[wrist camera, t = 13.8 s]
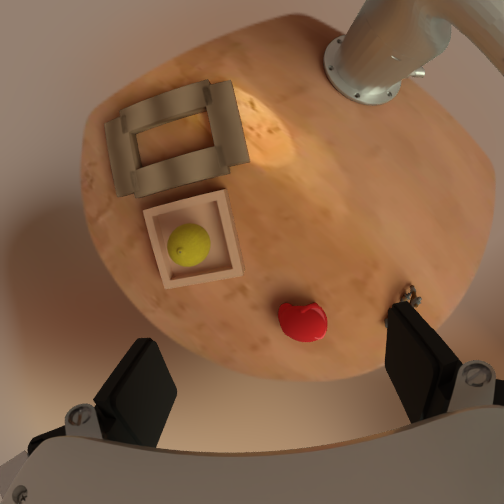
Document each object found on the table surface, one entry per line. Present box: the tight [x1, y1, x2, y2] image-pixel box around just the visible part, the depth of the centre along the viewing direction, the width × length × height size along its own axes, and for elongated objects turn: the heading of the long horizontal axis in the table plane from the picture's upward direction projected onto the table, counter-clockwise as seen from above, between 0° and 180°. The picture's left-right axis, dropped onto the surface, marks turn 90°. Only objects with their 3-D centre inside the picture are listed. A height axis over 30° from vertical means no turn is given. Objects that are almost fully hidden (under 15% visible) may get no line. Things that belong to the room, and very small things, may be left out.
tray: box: [143, 189, 245, 289], centre depth 39 cm, size 12×12×3 cm
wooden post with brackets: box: [385, 285, 422, 328], centre depth 40 cm, size 2×8×4 cm, turn 154°
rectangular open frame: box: [104, 79, 250, 198], centre depth 36 cm, size 20×14×2 cm
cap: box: [278, 303, 327, 342], centre depth 40 cm, size 8×6×6 cm
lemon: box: [167, 223, 211, 267], centre depth 36 cm, size 6×6×8 cm
